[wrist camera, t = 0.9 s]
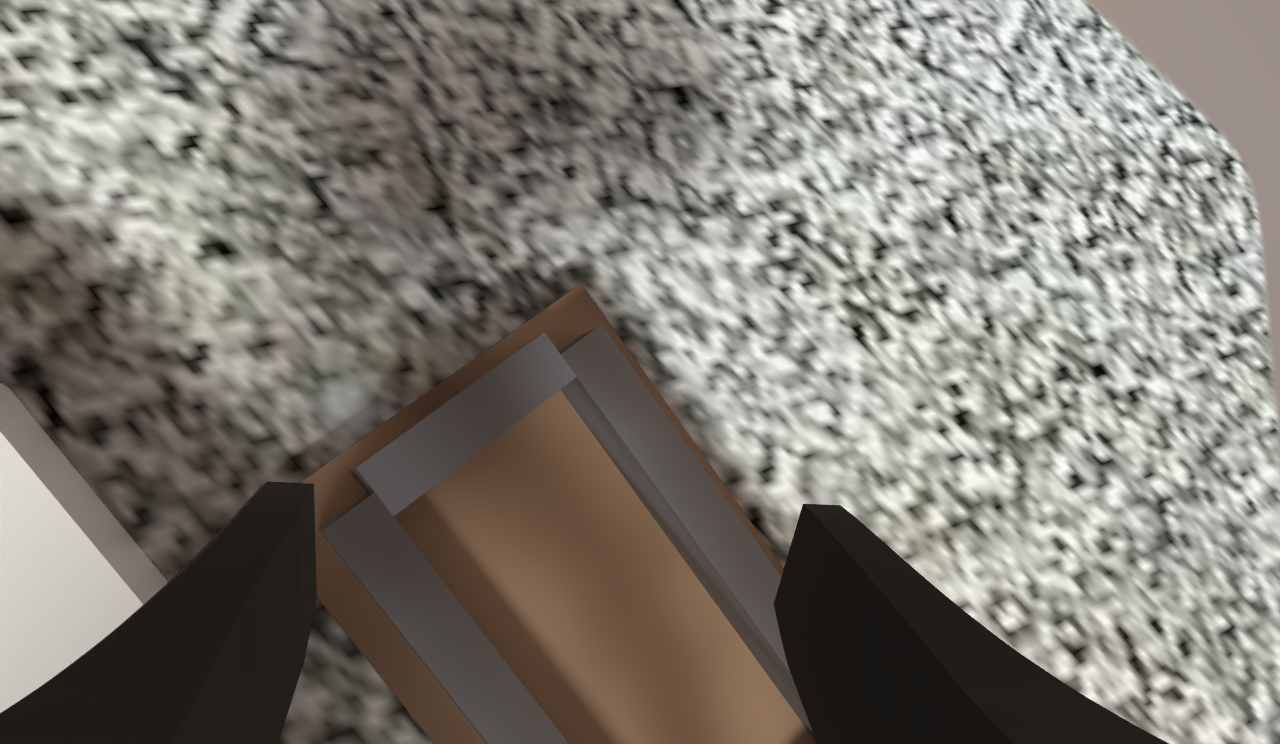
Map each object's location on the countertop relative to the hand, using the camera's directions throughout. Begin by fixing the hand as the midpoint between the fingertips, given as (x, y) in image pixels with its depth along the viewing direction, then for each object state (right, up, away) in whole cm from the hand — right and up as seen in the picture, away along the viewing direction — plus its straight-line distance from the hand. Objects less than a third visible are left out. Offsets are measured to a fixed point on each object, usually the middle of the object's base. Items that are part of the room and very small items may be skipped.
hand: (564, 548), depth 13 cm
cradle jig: (0, -5, +13) cm, 14 cm away
